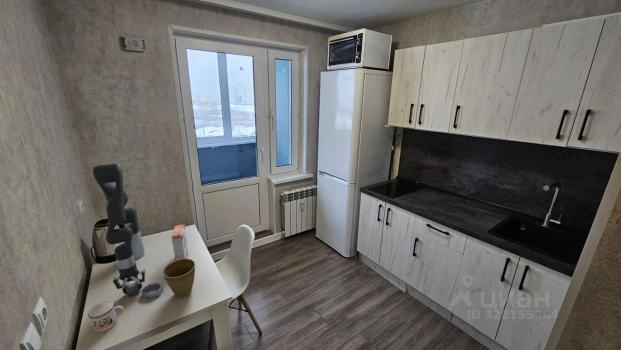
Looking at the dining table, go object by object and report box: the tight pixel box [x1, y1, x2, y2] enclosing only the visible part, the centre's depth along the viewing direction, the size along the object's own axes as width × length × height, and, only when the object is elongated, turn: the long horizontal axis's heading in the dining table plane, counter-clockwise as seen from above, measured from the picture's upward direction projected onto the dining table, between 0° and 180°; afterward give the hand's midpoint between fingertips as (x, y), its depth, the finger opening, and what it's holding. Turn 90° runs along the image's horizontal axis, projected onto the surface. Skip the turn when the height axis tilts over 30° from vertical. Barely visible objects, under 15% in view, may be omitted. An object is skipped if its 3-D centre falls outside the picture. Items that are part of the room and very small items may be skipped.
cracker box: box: [171, 224, 189, 261], centre depth 159 cm, size 14×6×21 cm, turn 19°
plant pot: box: [162, 258, 196, 299], centre depth 132 cm, size 15×15×16 cm
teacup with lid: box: [87, 300, 124, 333], centre depth 114 cm, size 12×9×12 cm
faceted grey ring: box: [141, 281, 164, 300], centre depth 134 cm, size 10×10×3 cm
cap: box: [125, 281, 141, 297], centre depth 133 cm, size 6×6×5 cm
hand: (133, 290), depth 133 cm, fingers closed on cap, 5 cm apart
